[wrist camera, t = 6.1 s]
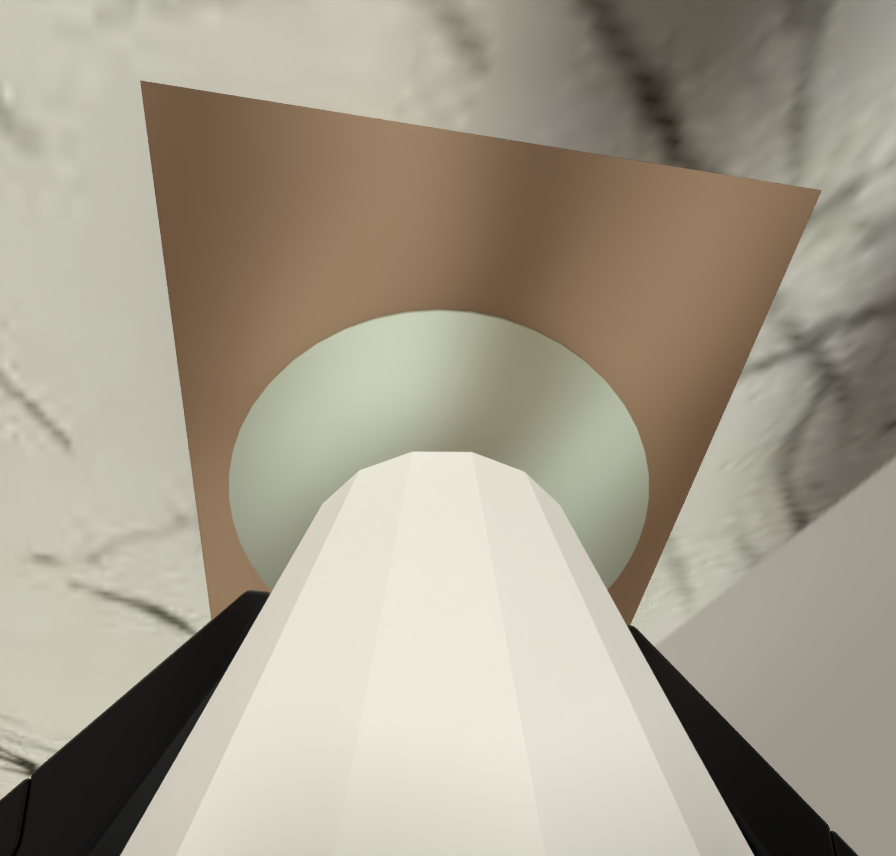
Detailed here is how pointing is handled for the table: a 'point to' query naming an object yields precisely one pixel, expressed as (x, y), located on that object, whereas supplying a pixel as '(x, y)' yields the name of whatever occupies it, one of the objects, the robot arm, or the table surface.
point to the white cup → (438, 694)
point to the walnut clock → (448, 318)
